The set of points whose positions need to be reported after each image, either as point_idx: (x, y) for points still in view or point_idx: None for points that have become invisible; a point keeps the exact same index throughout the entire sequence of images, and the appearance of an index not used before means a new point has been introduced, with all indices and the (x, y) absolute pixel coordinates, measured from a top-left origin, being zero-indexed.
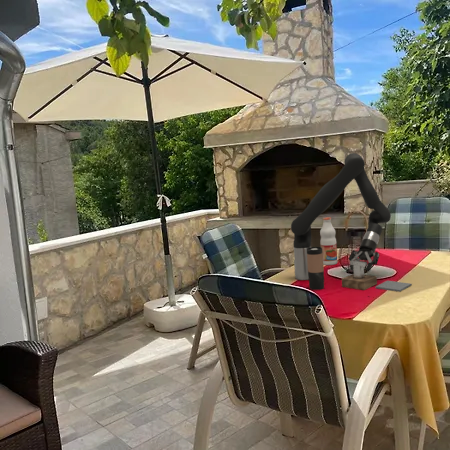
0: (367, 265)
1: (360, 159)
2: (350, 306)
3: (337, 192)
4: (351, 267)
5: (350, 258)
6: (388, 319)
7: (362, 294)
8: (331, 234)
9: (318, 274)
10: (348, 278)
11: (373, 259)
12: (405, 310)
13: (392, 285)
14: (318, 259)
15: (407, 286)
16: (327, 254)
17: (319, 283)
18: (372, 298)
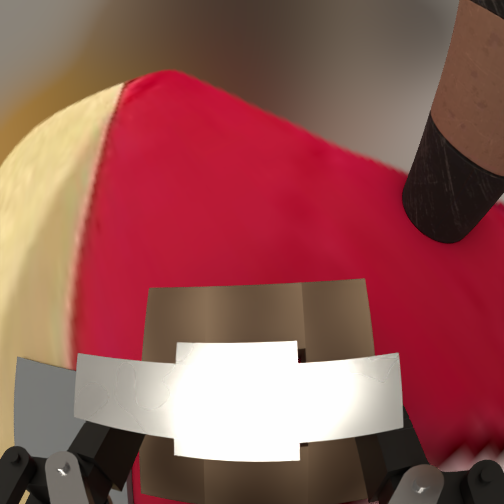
0: (107, 426)
1: None
2: (151, 116)
3: None
4: None
5: (477, 485)
6: (54, 124)
7: (153, 234)
8: None
9: (428, 118)
10: (323, 319)
11: (14, 481)
12: (17, 183)
13: (59, 432)
14: (454, 30)
15: (16, 437)
16: None
17: (412, 164)
18: (98, 211)
